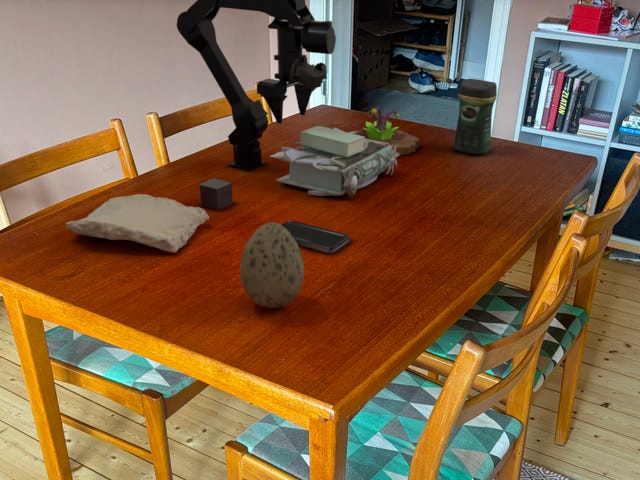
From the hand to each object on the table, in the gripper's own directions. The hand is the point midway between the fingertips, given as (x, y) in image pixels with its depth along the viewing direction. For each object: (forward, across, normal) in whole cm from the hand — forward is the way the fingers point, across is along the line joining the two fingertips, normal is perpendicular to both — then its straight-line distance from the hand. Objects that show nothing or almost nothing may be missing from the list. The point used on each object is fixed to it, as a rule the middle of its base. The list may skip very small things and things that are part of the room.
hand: (291, 119), depth 179 cm
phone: (+13, -31, -28) cm, 44 cm away
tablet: (+13, -50, +2) cm, 52 cm away
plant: (+13, +30, -7) cm, 34 cm away
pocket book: (+5, 0, -12) cm, 13 cm away
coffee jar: (+13, +43, -29) cm, 54 cm away
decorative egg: (+13, -57, -39) cm, 70 cm away
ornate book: (+13, +3, -12) cm, 18 cm away
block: (+13, -28, 0) cm, 31 cm away
